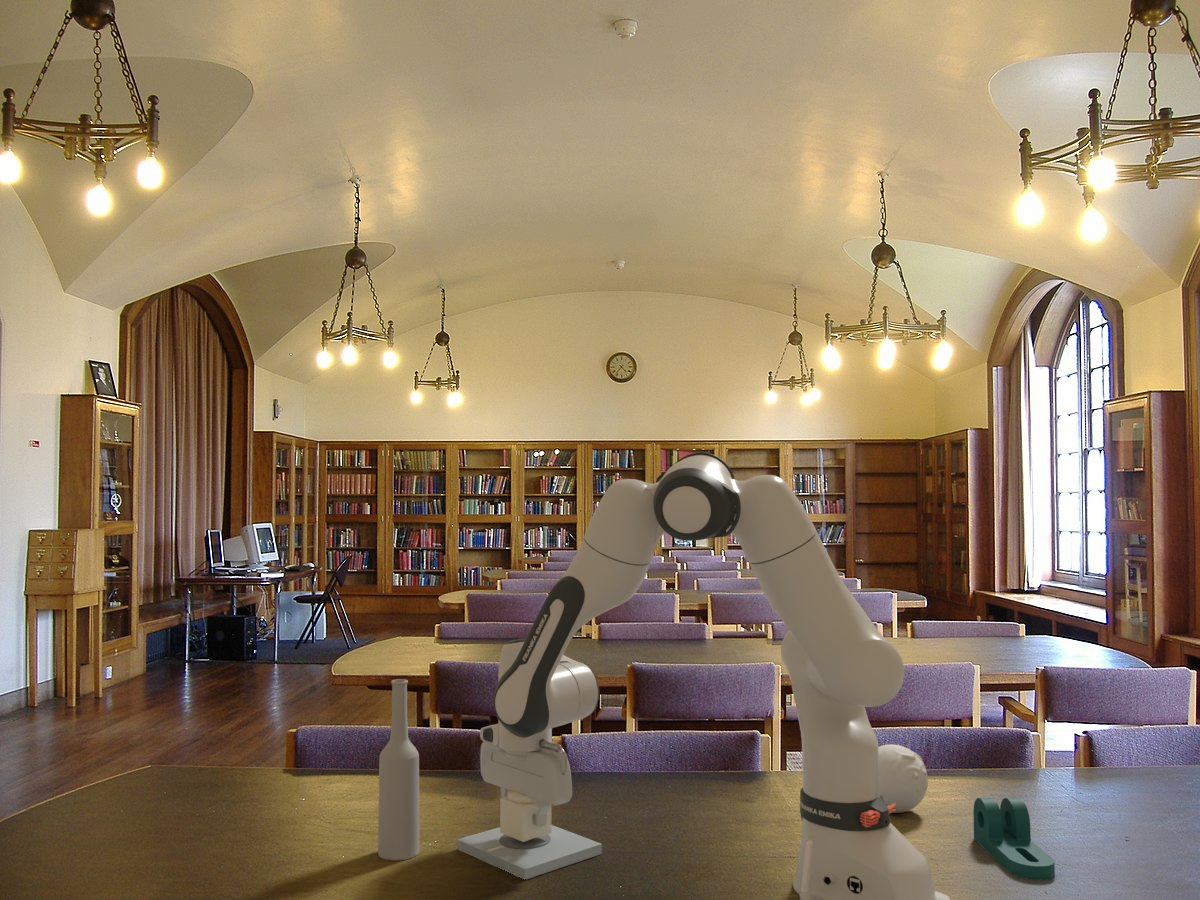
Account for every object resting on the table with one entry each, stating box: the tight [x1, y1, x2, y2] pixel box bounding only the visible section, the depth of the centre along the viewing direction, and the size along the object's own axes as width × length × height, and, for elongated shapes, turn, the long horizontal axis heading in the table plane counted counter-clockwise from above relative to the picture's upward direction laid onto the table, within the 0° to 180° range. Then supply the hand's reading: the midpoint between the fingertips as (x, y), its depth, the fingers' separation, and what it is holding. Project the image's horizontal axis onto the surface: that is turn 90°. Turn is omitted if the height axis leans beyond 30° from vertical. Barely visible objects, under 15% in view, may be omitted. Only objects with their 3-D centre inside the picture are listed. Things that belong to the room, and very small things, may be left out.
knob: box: [499, 790, 552, 842], centre depth 164 cm, size 6×6×7 cm
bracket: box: [972, 797, 1056, 881], centre depth 159 cm, size 18×7×8 cm, turn 0°
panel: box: [456, 824, 603, 881], centre depth 163 cm, size 18×16×7 cm
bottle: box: [377, 678, 420, 862], centre depth 163 cm, size 7×7×28 cm
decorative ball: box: [878, 743, 929, 814], centre depth 183 cm, size 12×12×12 cm
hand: (525, 819), depth 164 cm, fingers closed on knob, 6 cm apart
